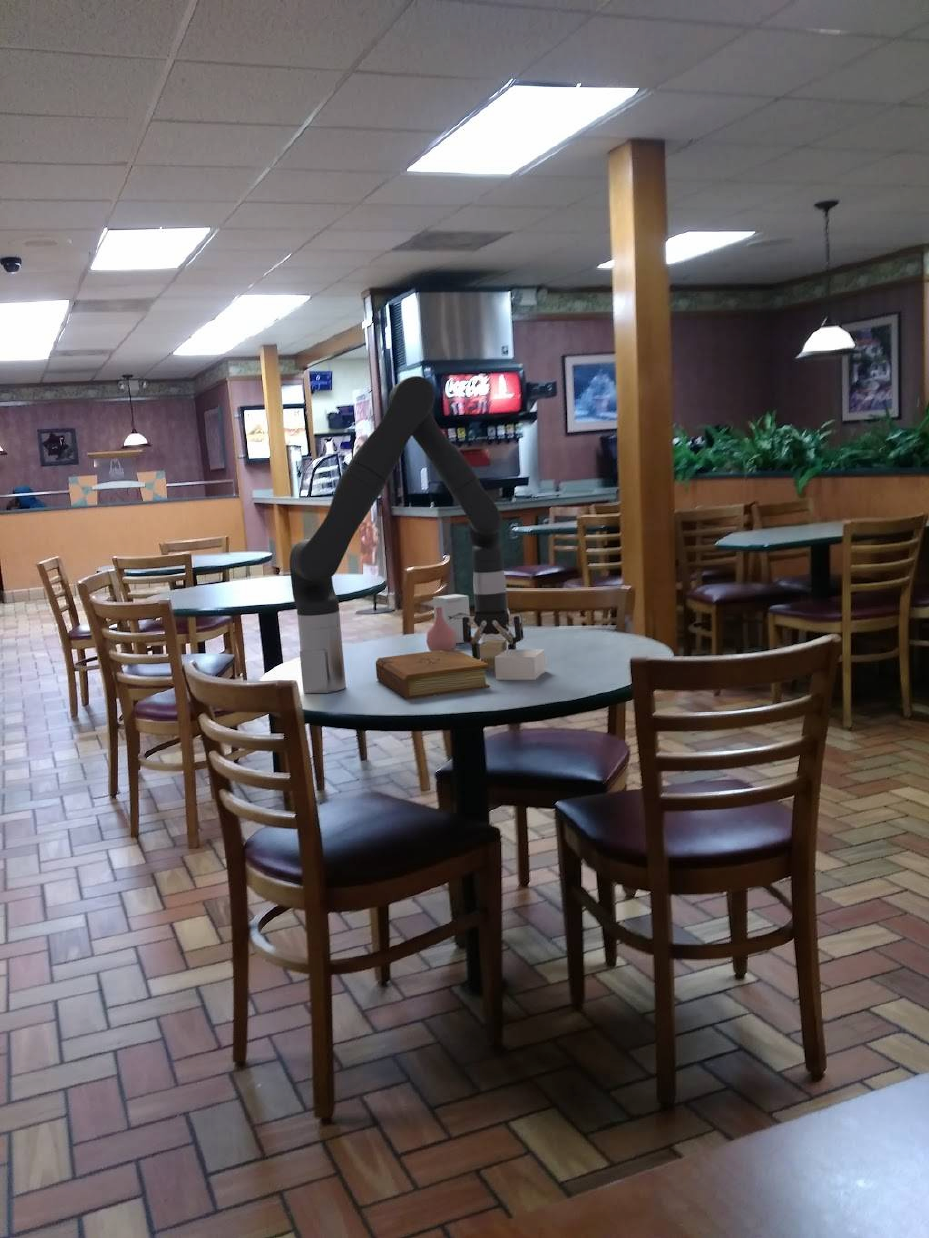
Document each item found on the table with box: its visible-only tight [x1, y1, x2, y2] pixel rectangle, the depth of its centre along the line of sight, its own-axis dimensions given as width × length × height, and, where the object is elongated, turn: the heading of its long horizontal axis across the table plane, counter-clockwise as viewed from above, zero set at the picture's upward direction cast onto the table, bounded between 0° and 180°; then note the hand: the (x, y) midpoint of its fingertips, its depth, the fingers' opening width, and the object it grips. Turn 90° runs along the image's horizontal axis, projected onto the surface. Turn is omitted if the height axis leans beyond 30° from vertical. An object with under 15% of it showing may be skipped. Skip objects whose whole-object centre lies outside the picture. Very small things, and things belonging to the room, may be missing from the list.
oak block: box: [480, 640, 508, 670], centre depth 238 cm, size 5×5×6 cm
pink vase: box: [426, 607, 457, 652], centre depth 259 cm, size 8×8×12 cm
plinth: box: [494, 648, 547, 681], centre depth 227 cm, size 9×9×5 cm
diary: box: [375, 648, 491, 700], centre depth 224 cm, size 23×19×6 cm
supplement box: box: [432, 593, 471, 644], centre depth 276 cm, size 7×7×13 cm
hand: (494, 659), depth 238 cm, fingers open, 8 cm apart
